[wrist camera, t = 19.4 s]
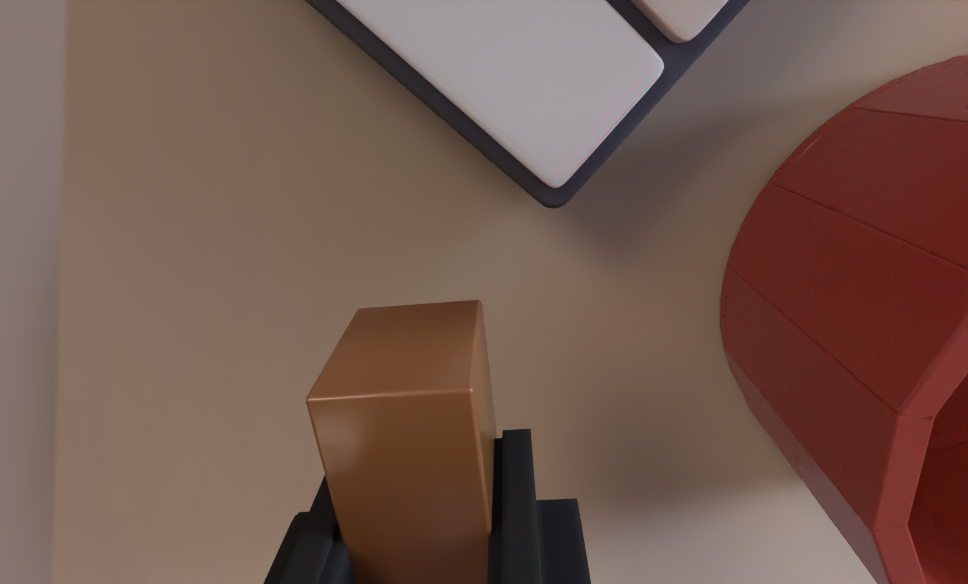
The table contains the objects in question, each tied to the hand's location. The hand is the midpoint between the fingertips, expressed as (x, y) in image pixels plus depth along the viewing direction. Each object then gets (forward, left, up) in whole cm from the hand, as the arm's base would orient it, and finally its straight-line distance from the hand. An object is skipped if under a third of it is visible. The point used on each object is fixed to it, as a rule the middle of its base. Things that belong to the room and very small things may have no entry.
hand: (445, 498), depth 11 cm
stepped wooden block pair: (+1, 0, 0) cm, 1 cm away
